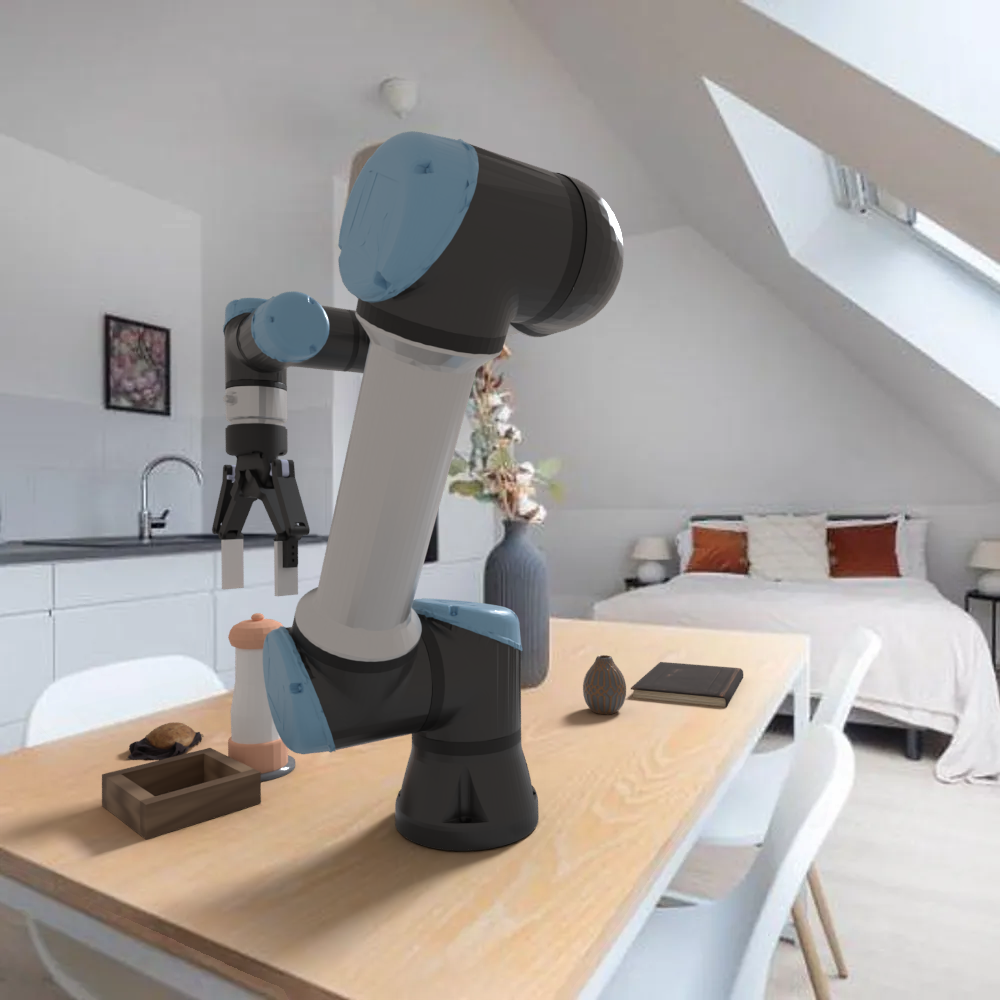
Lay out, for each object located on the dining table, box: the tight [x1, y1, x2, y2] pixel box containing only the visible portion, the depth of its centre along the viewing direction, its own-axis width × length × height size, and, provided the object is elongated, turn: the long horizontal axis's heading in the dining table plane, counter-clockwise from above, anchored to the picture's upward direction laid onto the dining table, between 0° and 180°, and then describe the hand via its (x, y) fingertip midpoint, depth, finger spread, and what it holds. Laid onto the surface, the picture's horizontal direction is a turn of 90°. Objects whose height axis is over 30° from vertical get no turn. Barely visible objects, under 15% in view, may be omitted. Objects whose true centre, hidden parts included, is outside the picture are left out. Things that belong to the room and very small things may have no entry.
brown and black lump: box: [126, 722, 205, 761], centre depth 104 cm, size 11×8×4 cm
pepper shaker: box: [227, 612, 289, 773], centre depth 95 cm, size 7×7×19 cm
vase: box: [582, 654, 627, 715], centre depth 121 cm, size 7×7×9 cm
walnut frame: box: [101, 747, 262, 840], centre depth 84 cm, size 12×12×4 cm
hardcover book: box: [630, 661, 744, 708], centre depth 136 cm, size 16×23×2 cm
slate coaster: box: [261, 754, 296, 782], centre depth 95 cm, size 9×9×1 cm
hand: (258, 592), depth 95 cm, fingers open, 13 cm apart
